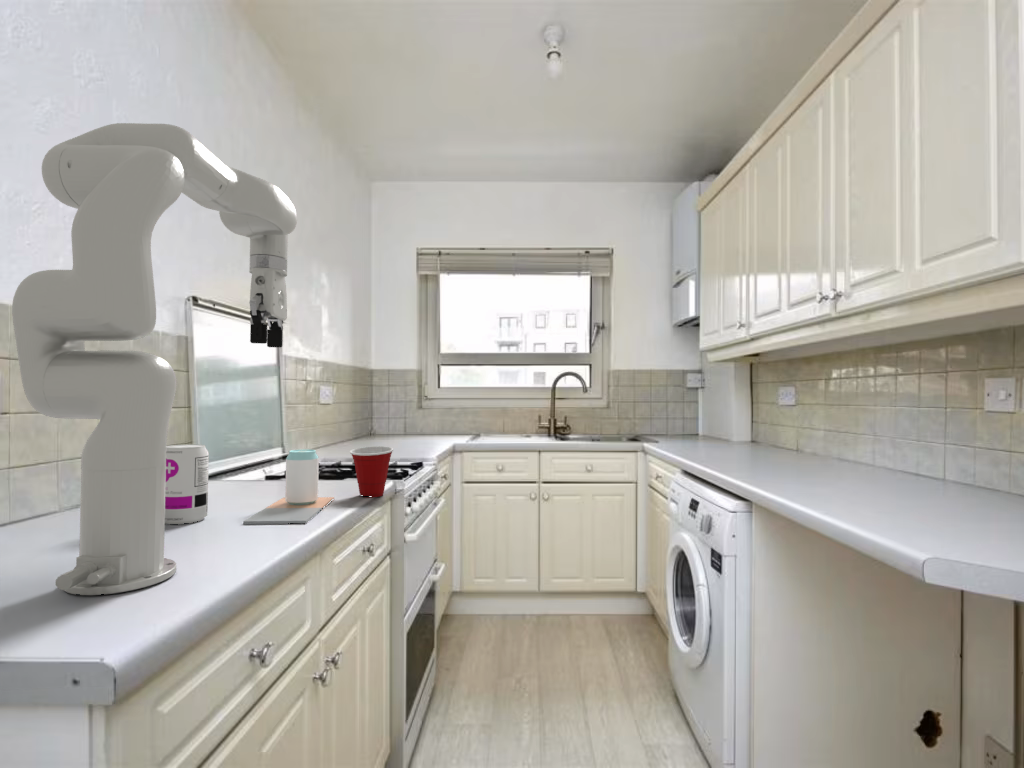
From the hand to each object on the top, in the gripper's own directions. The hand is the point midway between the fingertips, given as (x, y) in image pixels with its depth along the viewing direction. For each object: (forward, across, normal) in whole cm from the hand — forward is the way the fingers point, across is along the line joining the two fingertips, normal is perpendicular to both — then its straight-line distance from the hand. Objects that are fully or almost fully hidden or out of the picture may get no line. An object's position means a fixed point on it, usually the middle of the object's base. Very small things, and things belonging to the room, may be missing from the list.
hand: (267, 345), depth 116 cm
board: (+36, +1, -6) cm, 37 cm away
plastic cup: (+36, +18, -20) cm, 45 cm away
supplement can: (+36, -7, +13) cm, 39 cm away
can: (+36, +7, -6) cm, 37 cm away
